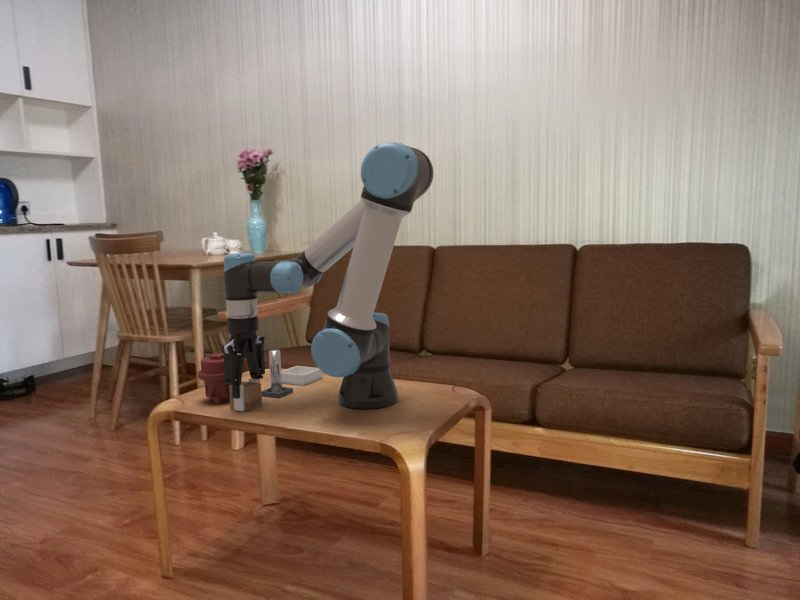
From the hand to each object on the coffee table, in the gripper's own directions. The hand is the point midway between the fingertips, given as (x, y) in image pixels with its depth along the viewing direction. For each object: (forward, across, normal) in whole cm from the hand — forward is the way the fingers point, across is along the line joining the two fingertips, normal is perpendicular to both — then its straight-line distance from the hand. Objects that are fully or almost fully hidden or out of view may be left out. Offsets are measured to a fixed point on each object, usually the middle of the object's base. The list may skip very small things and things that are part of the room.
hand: (247, 406), depth 158 cm
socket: (0, -13, -1) cm, 13 cm away
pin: (0, -13, -1) cm, 13 cm away
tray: (0, -28, -3) cm, 28 cm away
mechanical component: (+1, -2, -11) cm, 12 cm away
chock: (0, 0, 0) cm, 0 cm away
